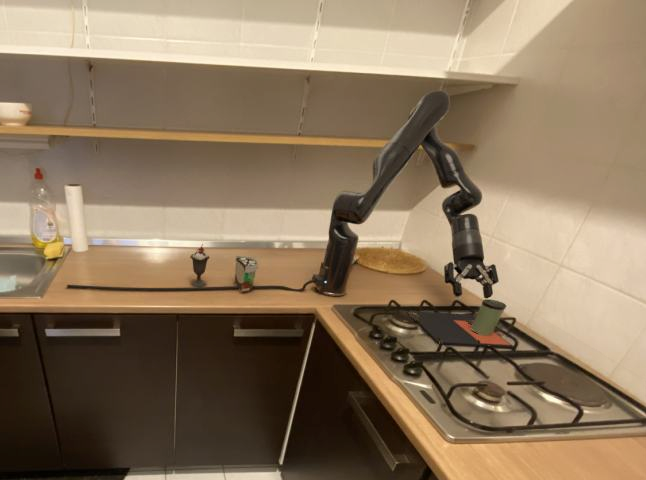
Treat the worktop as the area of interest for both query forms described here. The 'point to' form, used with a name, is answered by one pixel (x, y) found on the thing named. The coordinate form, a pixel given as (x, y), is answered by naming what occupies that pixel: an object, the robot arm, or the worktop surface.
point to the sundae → (199, 265)
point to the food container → (245, 273)
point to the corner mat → (457, 330)
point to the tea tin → (488, 317)
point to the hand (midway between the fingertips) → (473, 296)
